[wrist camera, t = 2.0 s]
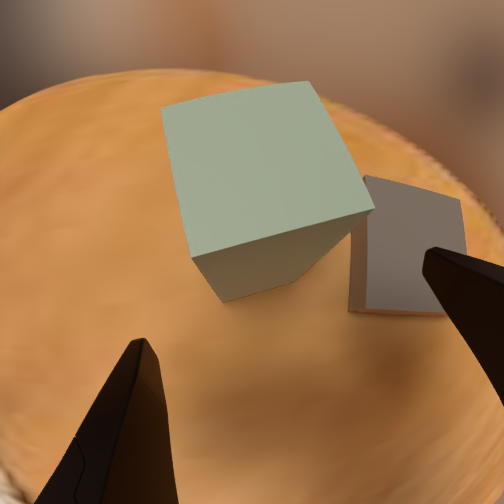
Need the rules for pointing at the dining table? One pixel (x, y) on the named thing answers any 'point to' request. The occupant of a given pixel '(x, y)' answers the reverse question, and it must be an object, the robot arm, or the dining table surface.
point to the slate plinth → (401, 248)
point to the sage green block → (261, 185)
